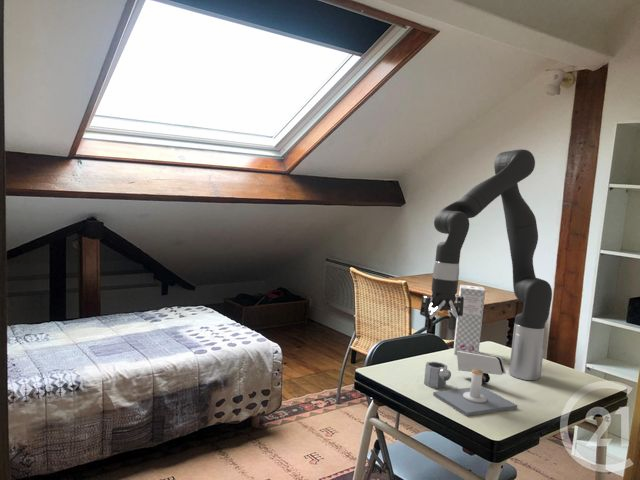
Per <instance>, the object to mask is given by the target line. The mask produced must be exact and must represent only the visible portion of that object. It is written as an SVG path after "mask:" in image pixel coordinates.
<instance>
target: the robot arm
mask: <svg viewBox="0 0 640 480" xmlns="http://www.w3.org/2000/svg"><path fill="white" fill-rule="evenodd" d="M493 165H494V167H493V168H494V175H493V176H491V177H489V178H487V179H485V180H482V182H480V183H479V184H476V185H475V186H473V187H472V188H471V189H470V190H469V191H467V192H466V193H465V194H464V195H463V196H462V197H461V198H460V199H458V200H456V201H454V202H453V203H450V204H449V205H446V206H445V207H444V208H442V209H441V210H439V211H438V213H436V216H435V217H434V221H433V224H434V228H435V230H436V231H437V232H439V233H442V234H447V238H446V240H445V241H441V242H438V244H437V245H436V253H435V262H434V265H433V271H432V280H431V292H432V294H431V296H428V295H423V296H422V298H421V304H420V310H419V315H420V316H423V317H424V318H425V319H424V321H425V322H424V328H425V331H428V332H432V330H433V321H434V319H433V318H434V316H436V314H438V313H439V312H443V311H446V312H448V314H449V318H448V324H447V325H448V326H447V328H448V329H449V330H450V331H451V330H452V331H455V330H456V320H457V317H458V316H462V315H463V304H464V297H462V296H459V294H458V286H459V279H460V278H459V277H460V258H461V250H462V248H463V245H464V243H465V241H466V238H467V236H468V232H469V229H470V221H469V219H471V218H472V219H473V218H475V217H477V216H478V215H479V214H480V213H482V211H483V210H485V208H487V207H488V206H489V205H490V204H491V203H492V202H493V201H495V200H496V199H497V198H498V197H501V201H502V207H503V212H504V213H503V214H504V219H505V228H506V233H507V240H508V244H509V252H510V259H511V265H512V266H511V267H512V285H513V293H514V296H515V297H516V299H517V300H518V301H519V302H522V303H523V305H524V306H523V309H522V312H521V313H517V314H516V315H515V317H514V326H513V334H512V341H511V351H510V361H509V369H508V373H509V375H510V376H512V377H513V378H517V379H520V380H527V381H537V380H539V378H541V377H542V371H543V370H542V367H543V362H544V361H543V360H544V354H545V353H544V352H545V350H544V349H543V343H544V336H545V335H544V334H545V328H546V323H547V321H548V319H549V315H550V311H551V304H552V298H553V290H552V289H553V288H552V285H551V284H550V283H549V282H548V281H546V279H545V280H544V279H541V278H538V277H536V273H535V268H534V255H535V251H536V248H537V245H538V243H539V242H538V241H539V231H538V226H537V224H538V223H537V219H536V216H535V214H534V212H533V210H532V208H531V207H530V206H529V205H528V203H527V202H526V200H525V199H524V198H523V196H522V195H521V192H520V188H519V184H518V183H520V182H521V181H524V179H526V178H527V177H529V176H531V174H532V173H533V171H534V170H535V167H536V159H535V156H534V155H533V153H532V152H531V151H530V150H529V149H528V150H527V149H521V148H519V149H514V150H513V149H512V150H507V151H503V152H499V153H498V154H497V155H496V157H495V158H494V162H493Z"/></svg>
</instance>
